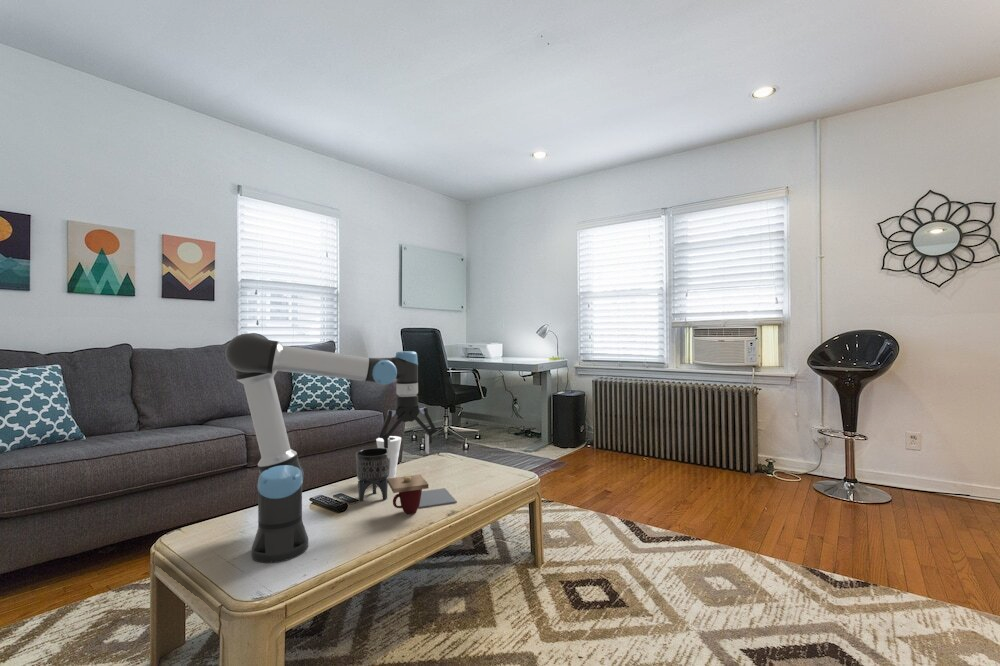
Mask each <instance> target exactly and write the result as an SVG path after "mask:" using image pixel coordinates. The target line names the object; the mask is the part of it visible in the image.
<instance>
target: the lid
mask: <svg viewBox="0 0 1000 666" xmlns="http://www.w3.org/2000/svg"><path fill="white" fill-rule="evenodd" d="M388 487H389V488H390V490H391V492H392V493H393V494H399V492H405V491H413V490H420V489H422V490H427V489H429V483H428V482H427V481H426V479H425V478H424V476H422V474H415V475H414V474H413V475H407V476H398V477H396V476H395V478H388Z"/></svg>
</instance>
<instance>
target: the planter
mask: <svg viewBox="0 0 1000 666" xmlns="http://www.w3.org/2000/svg"><path fill="white" fill-rule="evenodd" d="M355 462H356V463H355V464H356V465H355V466H356V478H357V479H358V481H357V488H358V501H359V502H360V503H361V502H364V497H365V494H366V491H367V489H368V487H370V486H371V485H372V486H371V487H372V495H374V494H377V487H378V488H379V490H380V491H381V497H382V500H384V501H386V500H388V487H389V484H388V479H387V478H388V477H389V474H390V458H388V457H387V449H385V448H377V447H372V448H364V449H361V450H359V451H356V452H355Z"/></svg>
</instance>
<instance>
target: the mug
mask: <svg viewBox="0 0 1000 666" xmlns="http://www.w3.org/2000/svg"><path fill="white" fill-rule="evenodd" d="M422 491H423V489H420V490H413V491H405V492H398V493H395V495H394V497H393V499H392V505H393V506H394V508H396V509H402V510H403V512H404V514H405V513H406V514H405V515H414V514H416V513H417V511H418V509H419V505H420V499H421V493H422ZM398 498H399V502H400V505H398V504H397V499H398Z"/></svg>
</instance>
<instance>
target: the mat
mask: <svg viewBox="0 0 1000 666" xmlns="http://www.w3.org/2000/svg"><path fill="white" fill-rule="evenodd" d="M457 503H458V502H457V500H456V498H455V497H454V496H453V495H452V494H451V493H450V492H449V491H448V490H447V489H446V488H445V487H444V488H436V489H429V490H422V493H421V499H420V505H419V507H418V509H426V508H431V507H439V506H445V505H451V504H457Z"/></svg>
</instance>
